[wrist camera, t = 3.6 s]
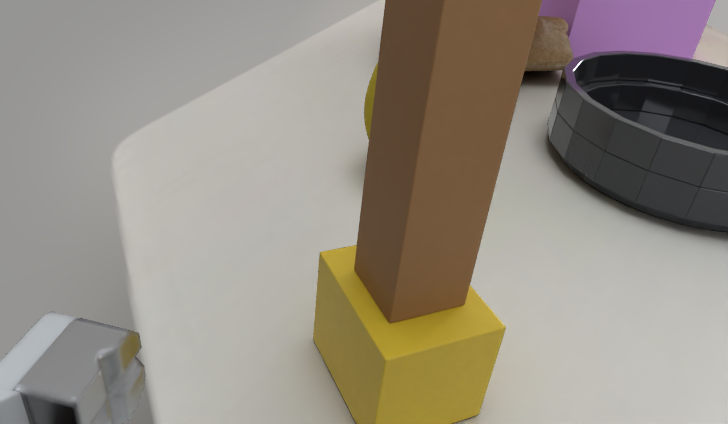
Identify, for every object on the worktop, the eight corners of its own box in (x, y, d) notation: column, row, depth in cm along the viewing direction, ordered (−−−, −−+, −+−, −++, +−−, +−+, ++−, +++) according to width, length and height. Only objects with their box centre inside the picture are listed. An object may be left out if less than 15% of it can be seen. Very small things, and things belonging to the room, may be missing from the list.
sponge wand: (312, 338, 22) (344, -81, 15) (409, 314, 24) (483, -76, 16) (369, 452, 19) (452, -29, 11) (479, 414, 20) (618, -29, 13)
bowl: (496, 124, 40) (512, 56, 37) (664, 104, 46) (688, 45, 43) (682, 265, 29) (723, 182, 26) (872, 215, 35) (919, 144, 32)
